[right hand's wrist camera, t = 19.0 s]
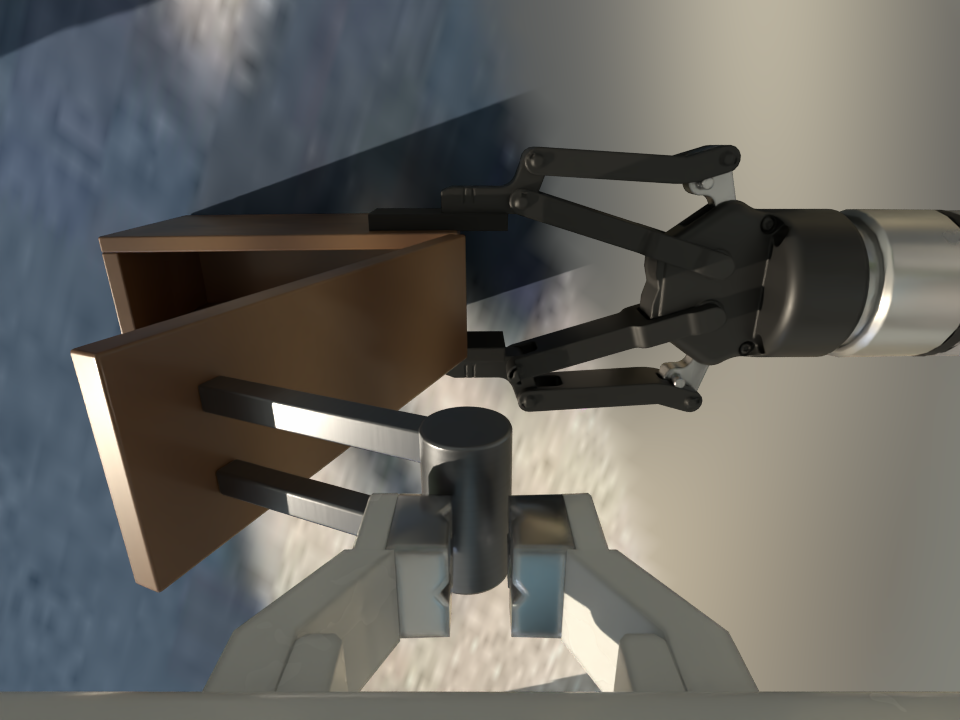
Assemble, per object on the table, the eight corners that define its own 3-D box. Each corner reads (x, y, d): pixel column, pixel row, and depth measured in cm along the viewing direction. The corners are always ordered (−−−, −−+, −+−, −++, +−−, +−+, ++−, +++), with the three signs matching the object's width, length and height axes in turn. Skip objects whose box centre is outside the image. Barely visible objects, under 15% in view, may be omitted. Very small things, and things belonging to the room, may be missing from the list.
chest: (203, 310, 35) (126, 358, 27) (185, 215, 33) (96, 236, 25) (461, 307, 36) (460, 353, 28) (459, 212, 34) (457, 232, 26)
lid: (134, 584, 13) (458, 721, 10) (67, 349, 11) (449, 426, 8) (452, 355, 27) (627, 381, 24) (448, 233, 25) (640, 244, 22)
